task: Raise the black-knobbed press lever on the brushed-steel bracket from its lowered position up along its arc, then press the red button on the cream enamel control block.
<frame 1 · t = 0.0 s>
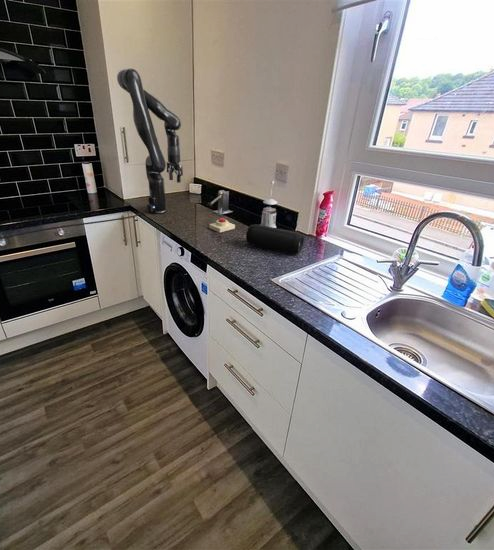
hand: (174, 181, 192), 17 cm above the worktop, tool pointing down, fingers open, 8 cm apart
lever: (216, 199, 186), point 9 cm above the worktop, hinge at -25.0°
button: (222, 220, 167), point 4 cm above the worktop, slide at 0.1 cm
control block: (222, 228, 169), on the worktop
bracket: (222, 213, 194), on the worktop
portable speaker: (273, 249, 146), on the worktop
french press: (267, 226, 174), on the worktop
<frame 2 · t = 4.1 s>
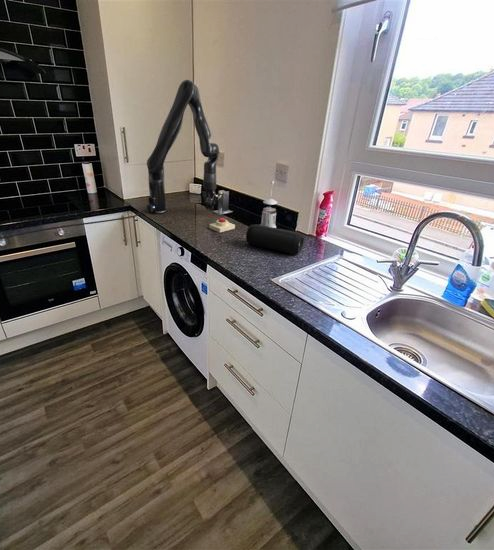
hand: (209, 209, 185), 4 cm above the worktop, tool pointing down, fingers closed on lever, 3 cm apart
lever: (216, 199, 186), point 9 cm above the worktop, hinge at -25.0°, touching gripper
everything else where it was.
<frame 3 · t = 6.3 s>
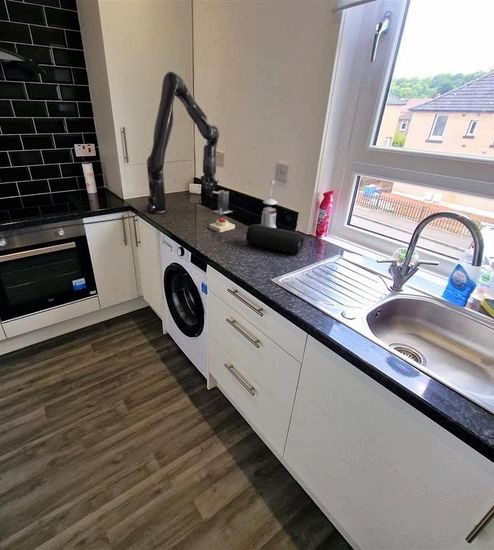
hand: (208, 195, 181), 13 cm above the worktop, tool pointing down, fingers closed on lever, 3 cm apart
lever: (216, 192, 184), point 14 cm above the worktop, hinge at 16.6°, touching gripper
everything else where it was.
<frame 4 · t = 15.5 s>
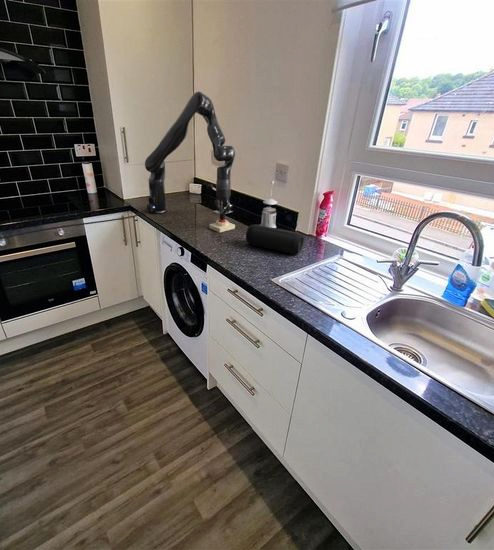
hand: (222, 219, 166), 5 cm above the worktop, tool pointing down, fingers closed
lever: (216, 190, 184), point 15 cm above the worktop, hinge at 28.4°
button: (222, 221, 167), point 4 cm above the worktop, slide at -0.4 cm, touching gripper
everything else where it was.
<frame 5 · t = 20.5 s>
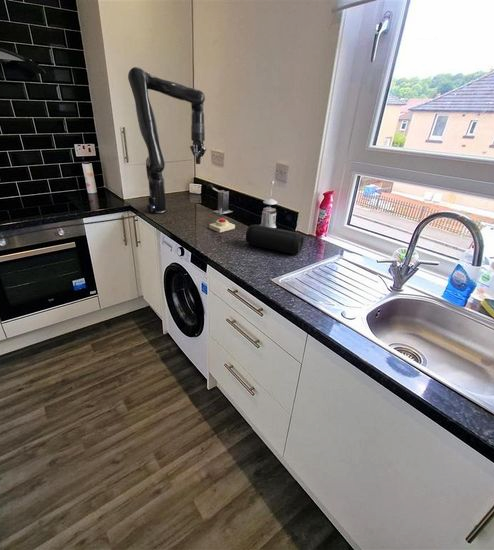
hand: (198, 163, 181), 29 cm above the worktop, tool pointing down, fingers closed
button: (222, 220, 167), point 4 cm above the worktop, slide at 0.1 cm
everything else where it was.
at the end: lever at +28° (first picture: -25°); button pushed in 1.1 cm at the most during the clip, back to where it started at the end; button slide at 0.1 cm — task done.
